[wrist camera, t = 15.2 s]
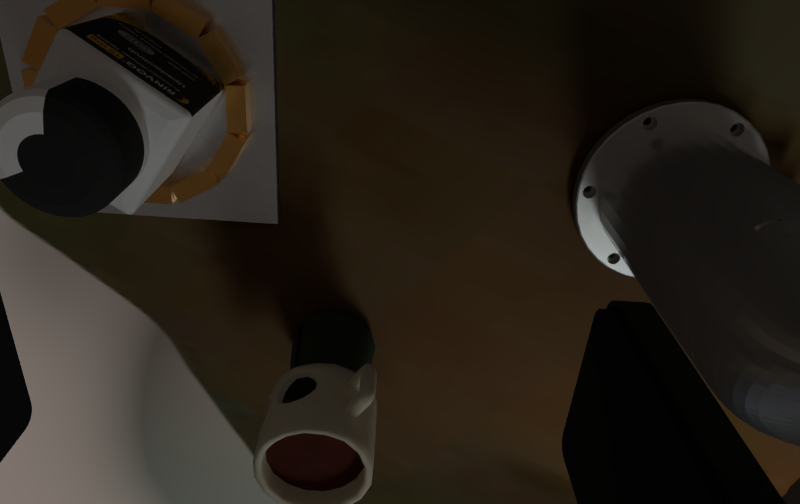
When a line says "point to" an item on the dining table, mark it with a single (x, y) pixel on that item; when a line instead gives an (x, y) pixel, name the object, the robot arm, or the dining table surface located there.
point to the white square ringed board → (227, 122)
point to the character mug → (321, 416)
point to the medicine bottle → (102, 119)
